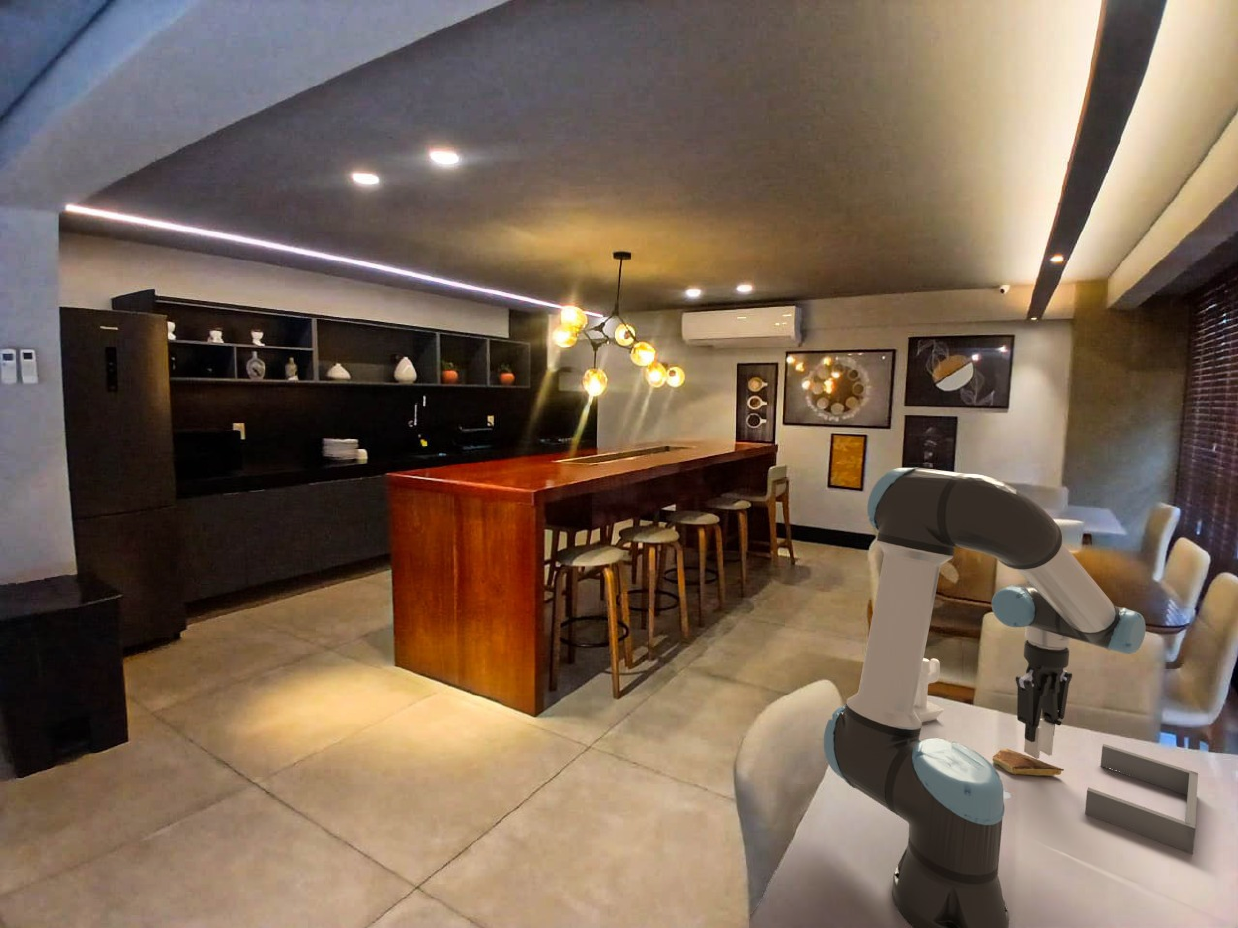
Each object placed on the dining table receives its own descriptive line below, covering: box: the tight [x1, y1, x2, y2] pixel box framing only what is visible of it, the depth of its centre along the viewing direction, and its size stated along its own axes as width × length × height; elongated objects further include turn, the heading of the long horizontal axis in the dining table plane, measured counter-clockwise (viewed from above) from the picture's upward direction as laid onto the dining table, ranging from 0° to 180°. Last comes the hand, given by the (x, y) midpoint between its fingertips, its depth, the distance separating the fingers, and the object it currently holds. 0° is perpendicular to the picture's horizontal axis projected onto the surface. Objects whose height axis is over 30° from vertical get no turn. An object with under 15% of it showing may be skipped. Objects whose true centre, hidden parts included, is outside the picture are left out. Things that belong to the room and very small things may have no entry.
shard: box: [992, 748, 1065, 777], centre depth 125 cm, size 11×8×2 cm
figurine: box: [914, 657, 945, 723], centre depth 146 cm, size 7×9×15 cm
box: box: [1084, 743, 1199, 854], centre depth 116 cm, size 14×22×4 cm, turn 136°
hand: (1037, 753), depth 127 cm, fingers open, 3 cm apart
